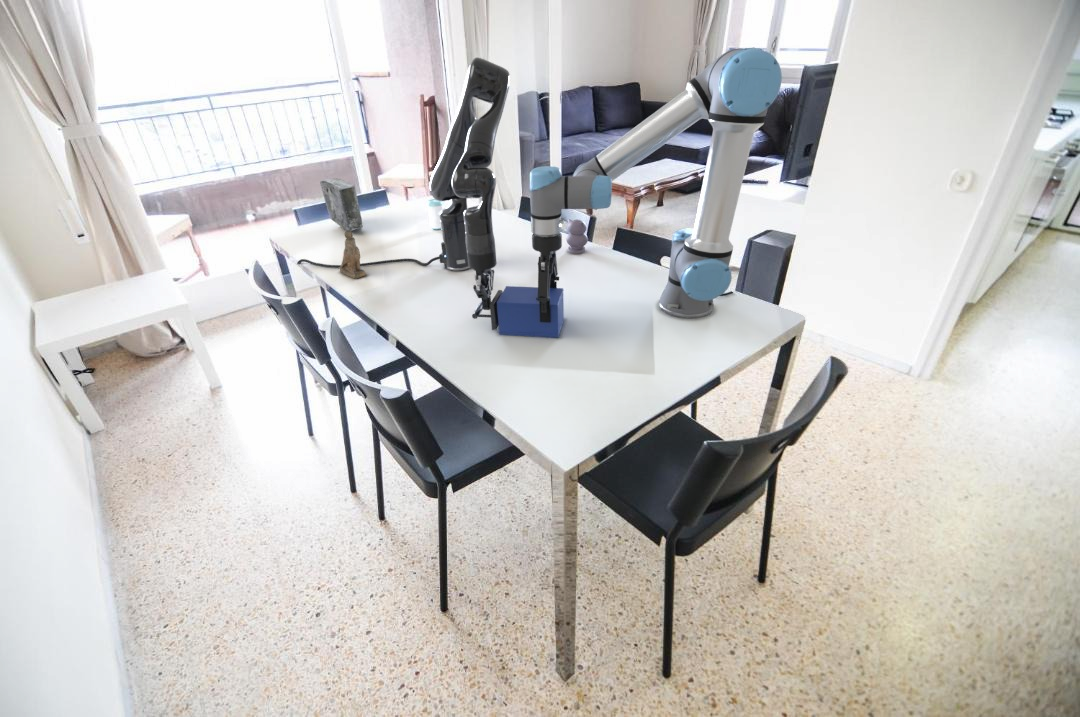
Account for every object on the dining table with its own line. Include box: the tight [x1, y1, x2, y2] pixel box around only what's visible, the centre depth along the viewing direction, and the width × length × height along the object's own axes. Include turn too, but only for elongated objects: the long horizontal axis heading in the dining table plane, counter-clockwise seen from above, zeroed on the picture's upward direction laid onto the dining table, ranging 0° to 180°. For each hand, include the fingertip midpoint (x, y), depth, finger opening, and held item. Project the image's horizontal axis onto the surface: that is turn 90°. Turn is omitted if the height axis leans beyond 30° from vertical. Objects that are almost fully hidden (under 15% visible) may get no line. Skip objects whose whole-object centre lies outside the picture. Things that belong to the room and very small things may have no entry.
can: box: [426, 198, 445, 230], centre depth 220 cm, size 7×7×12 cm
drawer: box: [471, 289, 504, 331], centre depth 137 cm, size 20×10×8 cm, turn 80°
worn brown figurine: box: [339, 230, 367, 280], centre depth 174 cm, size 12×6×18 cm, turn 43°
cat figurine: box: [565, 218, 589, 255], centre depth 187 cm, size 9×8×12 cm
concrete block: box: [319, 177, 364, 232], centre depth 222 cm, size 27×9×20 cm, turn 36°
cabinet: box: [497, 285, 565, 339], centre depth 136 cm, size 16×11×10 cm, turn 80°
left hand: (487, 308), depth 138 cm, fingers closed
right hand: (548, 312), depth 136 cm, fingers closed on cabinet, 11 cm apart
